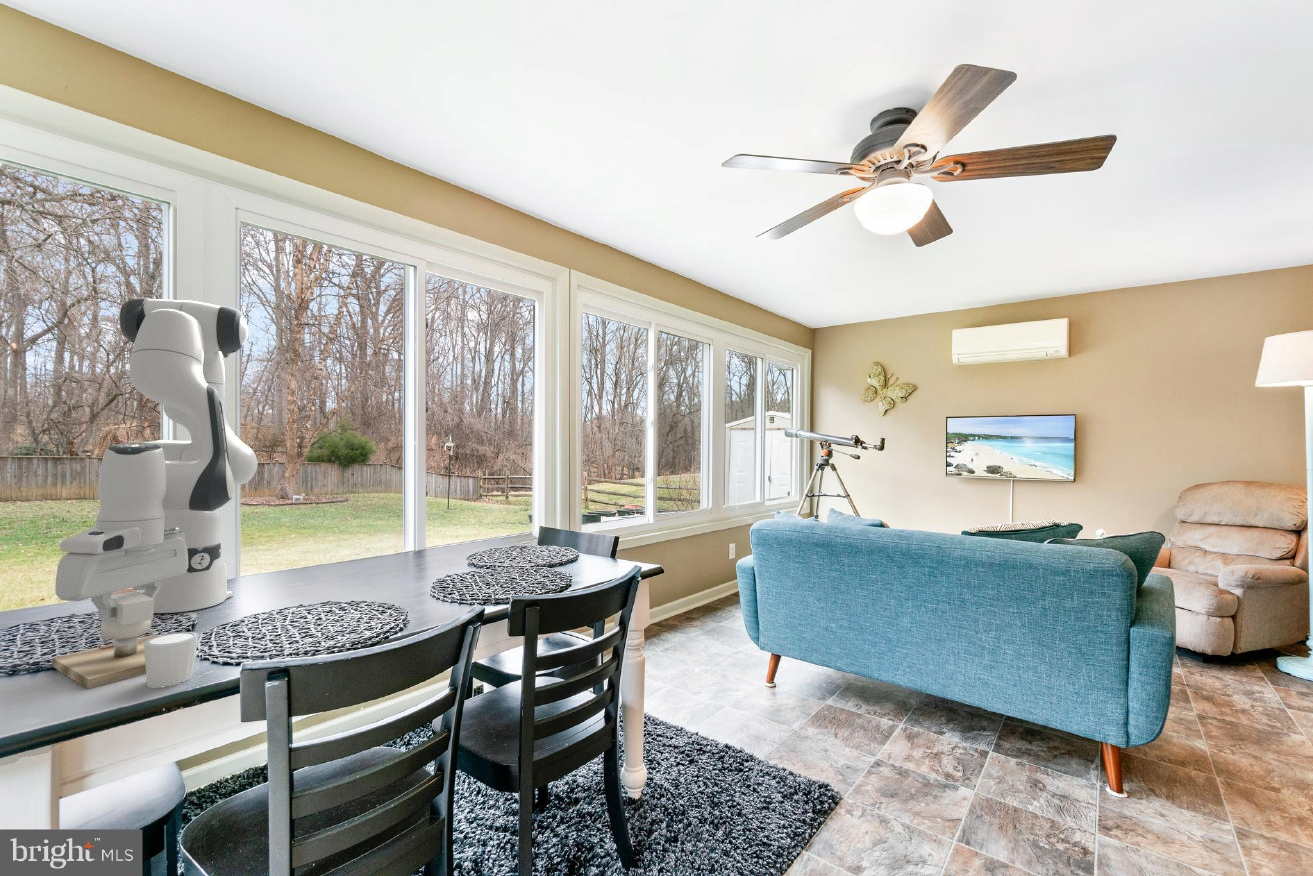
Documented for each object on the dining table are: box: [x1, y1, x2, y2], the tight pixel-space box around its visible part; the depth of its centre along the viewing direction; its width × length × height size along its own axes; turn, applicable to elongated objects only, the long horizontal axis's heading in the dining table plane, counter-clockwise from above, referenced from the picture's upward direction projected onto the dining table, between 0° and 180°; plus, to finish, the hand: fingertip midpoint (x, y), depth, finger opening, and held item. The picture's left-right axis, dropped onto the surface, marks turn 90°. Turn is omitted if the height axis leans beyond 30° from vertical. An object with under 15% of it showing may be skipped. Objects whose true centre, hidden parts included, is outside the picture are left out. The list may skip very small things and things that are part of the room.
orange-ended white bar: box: [100, 587, 154, 640], centre depth 98 cm, size 6×11×7 cm, turn 58°
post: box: [113, 636, 139, 658], centre depth 98 cm, size 3×3×4 cm
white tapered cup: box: [144, 631, 199, 688], centre depth 92 cm, size 7×7×7 cm
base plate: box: [51, 634, 159, 690], centre depth 98 cm, size 16×14×2 cm
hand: (127, 612), depth 98 cm, fingers closed on orange-ended white bar, 5 cm apart
